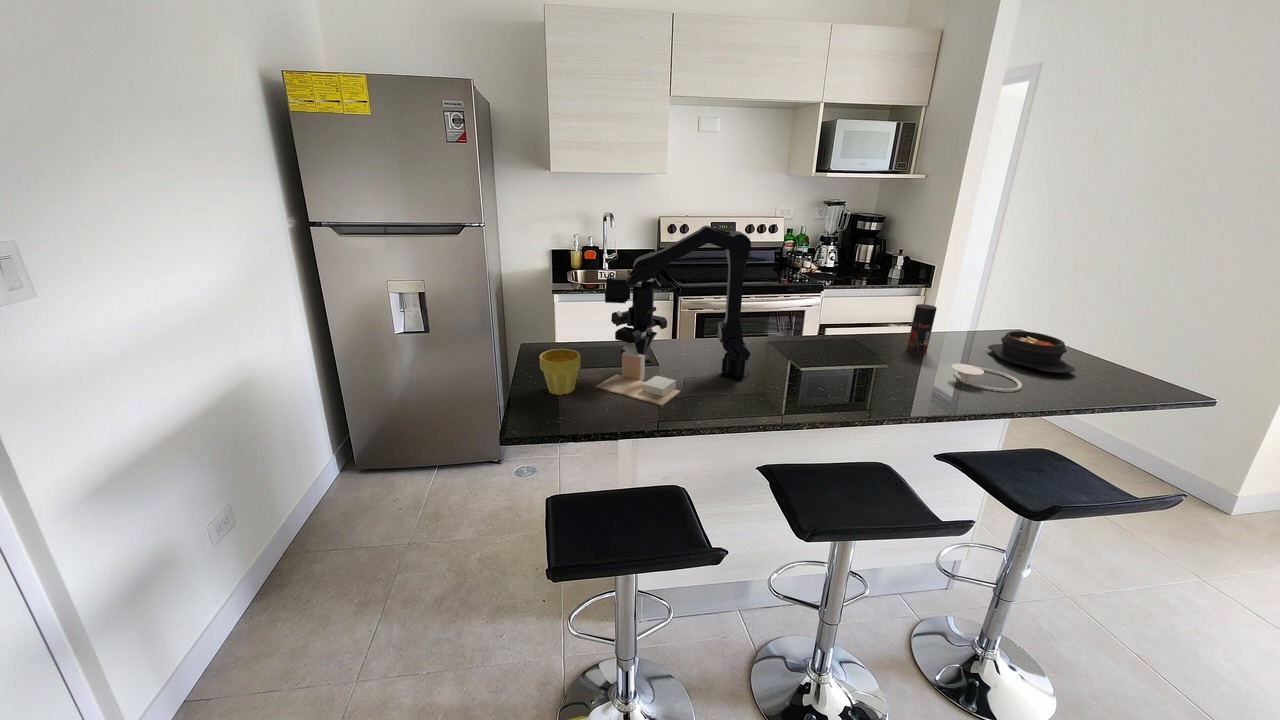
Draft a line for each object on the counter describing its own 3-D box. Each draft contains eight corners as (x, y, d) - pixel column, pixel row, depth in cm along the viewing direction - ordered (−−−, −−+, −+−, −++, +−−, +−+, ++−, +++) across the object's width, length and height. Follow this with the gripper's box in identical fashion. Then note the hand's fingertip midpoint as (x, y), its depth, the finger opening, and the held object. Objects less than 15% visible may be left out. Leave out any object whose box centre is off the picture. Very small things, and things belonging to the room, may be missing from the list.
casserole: (1089, 376, 159) (1099, 350, 156) (1038, 380, 155) (1047, 353, 152) (1017, 348, 182) (1024, 324, 179) (971, 351, 178) (977, 327, 175)
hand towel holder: (1041, 376, 147) (980, 382, 142) (1036, 391, 148) (976, 397, 144) (989, 355, 162) (933, 359, 157) (986, 368, 164) (929, 372, 159)
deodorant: (911, 346, 181) (921, 303, 175) (929, 351, 176) (940, 307, 171) (903, 349, 177) (912, 305, 172) (921, 355, 173) (931, 310, 168)
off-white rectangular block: (644, 378, 148) (645, 355, 146) (640, 381, 146) (640, 357, 144) (625, 374, 151) (626, 350, 149) (621, 376, 149) (622, 353, 147)
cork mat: (680, 392, 140) (680, 390, 140) (662, 406, 132) (662, 404, 132) (616, 375, 150) (616, 374, 150) (595, 387, 142) (595, 386, 142)
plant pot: (533, 388, 140) (531, 353, 137) (567, 379, 146) (566, 345, 143) (554, 402, 133) (553, 365, 129) (588, 391, 139) (588, 356, 135)
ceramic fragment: (652, 362, 161) (652, 350, 160) (638, 365, 158) (638, 353, 157) (627, 349, 172) (627, 338, 170) (613, 352, 169) (613, 341, 168)
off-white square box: (675, 380, 141) (663, 389, 135) (675, 387, 142) (662, 397, 136) (656, 375, 144) (642, 384, 138) (655, 382, 145) (642, 391, 139)
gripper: (635, 292, 156) (634, 343, 162) (598, 306, 141) (598, 361, 147) (669, 298, 151) (666, 350, 157) (634, 313, 136) (632, 370, 142)
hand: (641, 357), depth 151 cm, fingers closed
